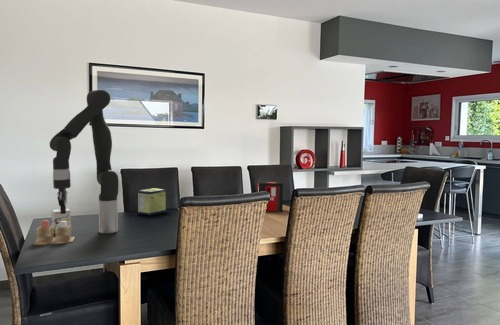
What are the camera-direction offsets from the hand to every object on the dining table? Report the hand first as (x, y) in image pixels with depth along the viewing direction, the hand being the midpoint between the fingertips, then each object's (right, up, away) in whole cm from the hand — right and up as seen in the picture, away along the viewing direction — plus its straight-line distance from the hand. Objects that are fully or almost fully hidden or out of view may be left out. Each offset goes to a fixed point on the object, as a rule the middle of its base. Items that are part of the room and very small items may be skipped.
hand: (63, 213), depth 191 cm
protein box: (+25, -9, +71) cm, 76 cm away
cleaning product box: (+105, -9, +82) cm, 133 cm away
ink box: (-10, -12, +19) cm, 25 cm away
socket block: (-4, -14, 0) cm, 14 cm away
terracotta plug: (-8, -12, -1) cm, 14 cm away
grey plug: (0, -12, +1) cm, 12 cm away
